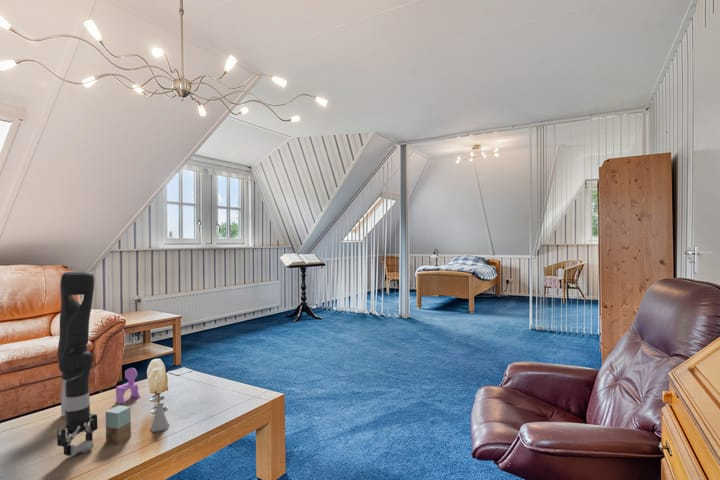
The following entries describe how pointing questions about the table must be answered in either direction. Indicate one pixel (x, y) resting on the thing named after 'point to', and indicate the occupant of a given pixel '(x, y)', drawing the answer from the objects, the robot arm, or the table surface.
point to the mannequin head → (81, 448)
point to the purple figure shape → (127, 386)
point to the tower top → (118, 416)
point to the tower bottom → (118, 434)
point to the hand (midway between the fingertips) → (78, 449)
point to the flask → (159, 419)
